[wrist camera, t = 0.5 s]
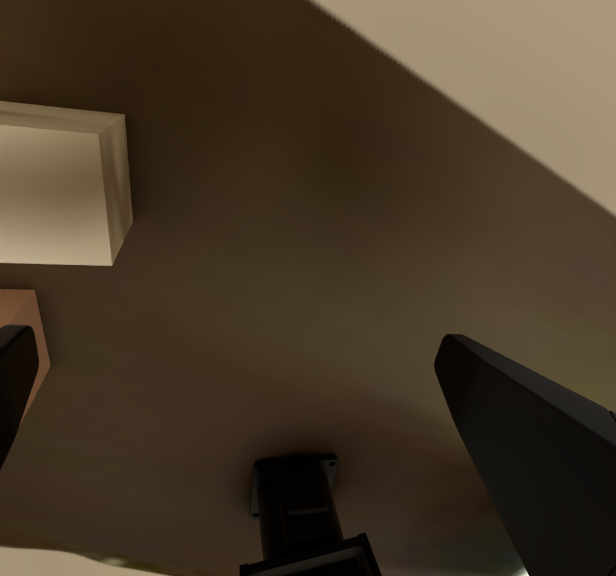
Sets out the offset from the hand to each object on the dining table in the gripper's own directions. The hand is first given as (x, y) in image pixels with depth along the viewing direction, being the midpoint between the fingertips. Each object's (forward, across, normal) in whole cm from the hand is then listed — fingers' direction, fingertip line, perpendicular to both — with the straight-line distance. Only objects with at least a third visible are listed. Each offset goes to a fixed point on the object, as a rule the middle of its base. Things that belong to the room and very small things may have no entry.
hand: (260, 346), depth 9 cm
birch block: (+14, +8, 0) cm, 15 cm away
